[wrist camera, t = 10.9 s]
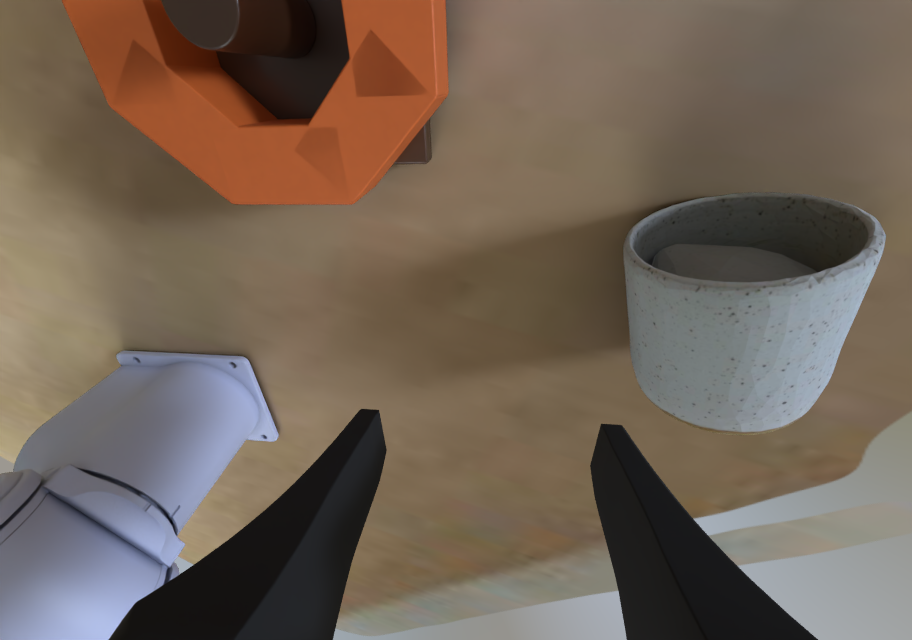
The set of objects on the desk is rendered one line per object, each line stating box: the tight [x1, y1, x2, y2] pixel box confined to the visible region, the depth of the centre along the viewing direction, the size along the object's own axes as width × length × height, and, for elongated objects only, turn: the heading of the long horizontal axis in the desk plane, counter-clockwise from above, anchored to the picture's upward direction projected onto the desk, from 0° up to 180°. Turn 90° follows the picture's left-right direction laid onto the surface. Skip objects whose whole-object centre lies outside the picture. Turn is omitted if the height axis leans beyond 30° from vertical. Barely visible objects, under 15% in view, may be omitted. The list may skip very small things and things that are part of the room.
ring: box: [62, 0, 448, 204], centre depth 13 cm, size 12×12×3 cm
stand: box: [161, 0, 432, 164], centre depth 13 cm, size 10×10×6 cm
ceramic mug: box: [623, 192, 886, 435], centre depth 15 cm, size 11×8×8 cm
